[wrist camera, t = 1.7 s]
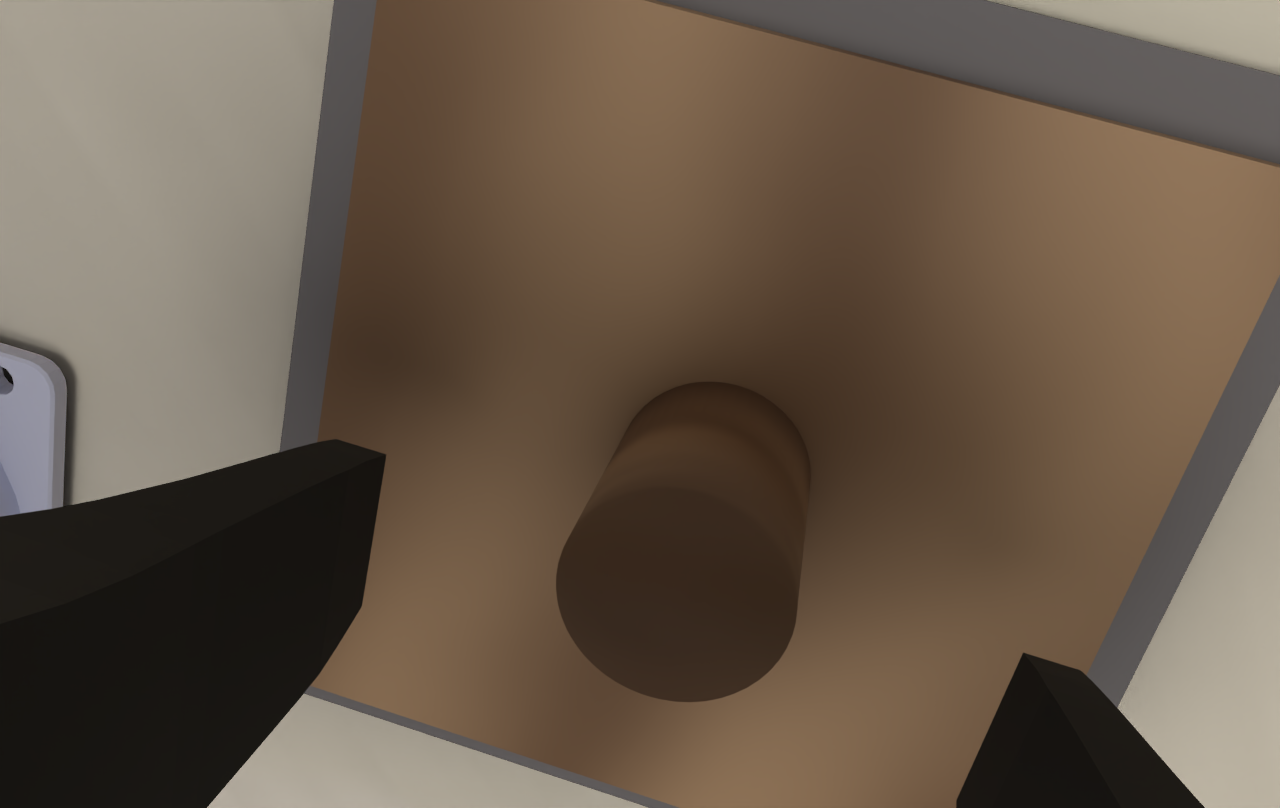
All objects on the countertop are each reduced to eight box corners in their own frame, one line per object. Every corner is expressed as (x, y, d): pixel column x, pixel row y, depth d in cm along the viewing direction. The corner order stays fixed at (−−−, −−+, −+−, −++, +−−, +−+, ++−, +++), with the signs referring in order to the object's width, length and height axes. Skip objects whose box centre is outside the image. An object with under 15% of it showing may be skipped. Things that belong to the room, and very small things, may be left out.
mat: (263, 663, 20) (253, 676, 20) (366, -157, 15) (353, -161, 15) (1004, 908, 19) (1007, 925, 19) (1402, 107, 14) (1416, 111, 13)
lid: (309, 648, 19) (161, 824, 15) (412, -64, 15) (240, -89, 11) (970, 864, 18) (1002, 1116, 14) (1297, 168, 14) (1484, 241, 10)
